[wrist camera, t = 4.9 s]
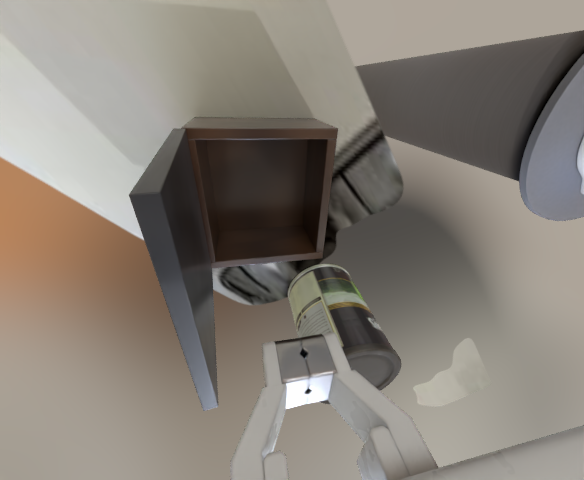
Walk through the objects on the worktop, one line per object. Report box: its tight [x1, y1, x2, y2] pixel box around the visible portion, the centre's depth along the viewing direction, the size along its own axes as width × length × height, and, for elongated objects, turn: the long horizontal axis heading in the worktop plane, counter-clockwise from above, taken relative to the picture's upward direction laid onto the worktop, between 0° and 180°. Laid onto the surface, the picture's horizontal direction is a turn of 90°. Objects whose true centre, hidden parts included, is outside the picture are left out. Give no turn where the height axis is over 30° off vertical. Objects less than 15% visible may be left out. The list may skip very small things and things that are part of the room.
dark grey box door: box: [129, 129, 218, 411], centre depth 15 cm, size 12×13×1 cm
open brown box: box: [181, 117, 338, 268], centre depth 24 cm, size 12×13×7 cm
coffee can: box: [288, 264, 401, 404], centre depth 32 cm, size 10×10×14 cm
